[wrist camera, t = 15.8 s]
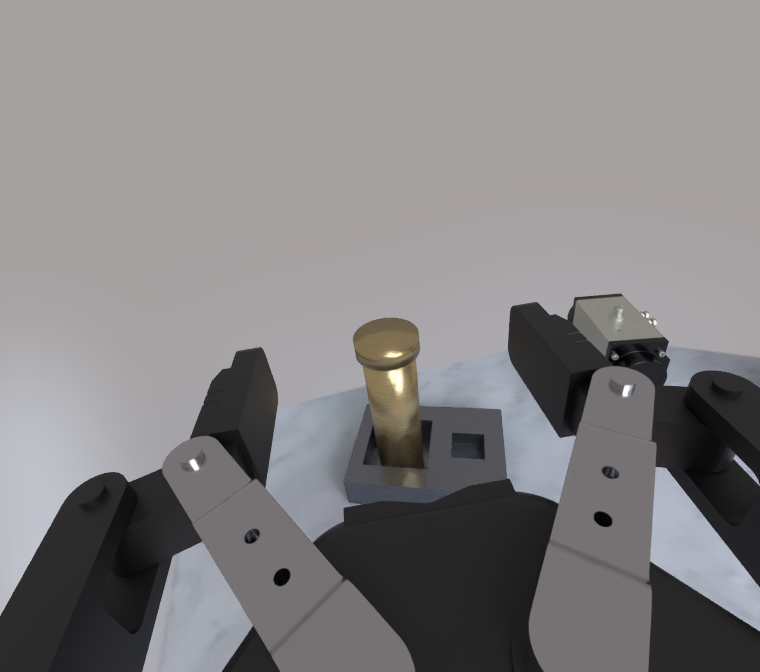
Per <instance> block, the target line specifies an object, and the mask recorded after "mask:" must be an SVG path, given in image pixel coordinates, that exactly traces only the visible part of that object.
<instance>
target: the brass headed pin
mask: <svg viewBox="0 0 760 672" xmlns="http://www.w3.org/2000/svg"><path fill="white" fill-rule="evenodd" d="M353 343H354V348H355V352H356V358H357V360H358V362H359V363H360V364H361V365H363V369H364V375H365V381H366V386H367V392H368V398H369V403H370V409H371V414H372V420H373V426H374V431H375V437H376V442H377V448H378V454H379V459H380V465H381V466H388V467H402V468H415V469H421V468H422V466H423V463H424V452H423V440H422V428H421V417H420V405H419V393H418V381H417V370H416V358H417V356H418V354H419V351H420V345H419V333H418V329H417V327H416V326H415V325H414V324H412V323H411V322H409V321H407V320H403V319H399V318H382V319H377V320H374V321H371V322H368V323H366V324H364V325H363V326H361V327H360V328H359V329H358V330H357V331H356V332H355V334H354V337H353Z"/></svg>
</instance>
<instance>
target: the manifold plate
mask: <svg viewBox="0 0 760 672" xmlns="http://www.w3.org/2000/svg"><path fill="white" fill-rule="evenodd" d="M420 417H421V428H422V440H423V452H424V463H423V466H422V468H421V469H415V468H402V467H388V466H381V465H380V459H379V454H378V448H377V442H376V437H375V431H374V426H373V420H372V414H371V409H370V404H367V406H366V410H365V413H364V416H363V420H362V423H361V426H360V430H359V433H358V436H357V440H356V443H355V446H354V449H353V453H352V456H351V459H350V463H349V466H348V469H347V473H346V476H345V479H344V485H345V489H346V492H347V496H348V500H349V503H360V504H369V503H374V502H380V501H398V502H415V503H431V502H433V501H436V500H438V499H440V498H442V497H445V496H447V495H449V494H451V493H454V492H456V491H458V490H460V489H463V488H465V487H467V486H470V485H476V484H482V483H487V482H493V481H499V480H504V479H507V473H506V462H505V450H504V439H503V428H502V416H501V409H477V408H452V407H427V406H420Z"/></svg>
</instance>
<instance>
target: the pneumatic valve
mask: <svg viewBox="0 0 760 672" xmlns="http://www.w3.org/2000/svg"><path fill="white" fill-rule="evenodd" d="M568 321H570V322H571V323H572V324H573V325H574V326H575V327H576V328H577V329H578V330H579V331H580V333H582V334H583V335H584V336H585V337H586V338H587V340H588V341H590V342H591V343H592V344H593V345H594V346H595V347H596V348H597V349H598V350H599V351H600V352H601V353H602V354H603V355H604V356H605V357H606V358H607V359H608V360H609V361H610V362H611V363H612V364H613V365H614V366H619V367H626V368H630V369H633V370H636V371H638V372H640V373H642V374H643V375H645V376H646V377H648V378H649V379H650V380H651V381H652V383H653V384H654V385H662V386H663V385H664V383H665V381H666V379H667V371H666V370H667V368H668V365H669V362H670V359H669V358H668V357H667V356H666V353H665V352H666V349H667V346H668V342H669V341H668V340H667V339H666V338H665V337H664V336H663V335H662V334H661V333H660V332H659V331H658V330H657V329H656V328H655V326H656V325H657V321H656V319H654V318H651V319H649V313H648V312H647V311H644V312H639V311H638V310H637V309H636V308H635V307H634V306H633V305H632V304H631V303H630V302H629V301H628V300H627V299H626V298H625V297H624V296H623V295H622V294H610V295H599V296H587V297H575V299H574V304H573V306H572V308H571V309H570V311H569V313H568Z"/></svg>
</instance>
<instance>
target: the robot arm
mask: <svg viewBox="0 0 760 672" xmlns="http://www.w3.org/2000/svg"><path fill="white" fill-rule="evenodd" d="M508 351H509V356H510V360H511V362H512V364H513V366H514V368H515V369H516V371H517V372H518V374H519V375H520V377H521V378H522V380H523V381H524V383H525V385H526V386H527V388H528V389H529V391H530V392H531V394H532V395H533V397H534V399H535V400H536V402H537V403H538V405H539V406H540V408H541V409H542V411H543V412H544V414H545V416H546V417H547V419H548V420H549V422H550V423H551V425H552V426H553V428H554V430H555V431H556V433H557V434H558V436H559V437H560V438H562V437H567V436H573V435H575V436H576V439H575V443H574V447H573V451H572V455H571V459H570V462H569V466H568V470H567V474H566V478H565V482H564V486H563V490H562V494H561V498H560V502H559V504H558V503H556V502H554V501H552V500H549V499H547V498H544V497H541V496H538V495H534V494H530V493H524V492H515V490H514V488H513V486H512V483H511V481H510V479H504V480H499V481H493V482H487V483H482V484H476V485H470V486H467V487H465V488H463V489H460V490H458V491H456V492H454V493H451V494H449V495H447V496H445V497H442V498H440V499H438V500H436V501H433V502H431V503H415V502H398V501H380V502H374V503H369V504H363V505H357V506H352V507H346V508H343V509H344V522H342V523H340V524H338V525H336V526H334V527H332V528H331V529H329V530H328V531H326V532H325V533H324V534H322V535H321V536H320V537H318V538H317V539H316V540H315V541H314V542H313V543H312V542H311V541H310V539H309V538H308V537H307V536H306V535H305V534H304V533H303V531H302V530H301V529H300V528H299V527H298V526H297V525H296V523H295V522H294V521H293V520H292V519H291V518H290V516H289V515H288V514H287V513H286V512H285V511H284V510H283V508H282V507H281V506H280V505H279V504H278V503H277V501H276V500H275V499H274V498H273V497H272V496H271V495H270V493H269V492H268V491H267V490H266V489H265V486H266V479H267V472H268V466H269V459H270V452H271V446H272V439H273V432H274V426H275V419H276V413H277V406H278V394H277V388H276V384H275V381H274V379H273V375H272V373H271V370H270V367H269V364H268V361H267V358H266V355H265V353H264V351H263V349H262V348H261V347H259V348H253V349H247V350H241V351H237V352H236V354H235V357H234V360H233V363H232V366H231V368H228V369H223V370H222V371H221V372H220V373H219V374H218V375H217V376H216V377H215V378H214V379H213V380H212V382H211V384H210V387H209V390H208V392H207V396H206V398H205V401H204V405H203V406H202V408H201V411H200V413H199V416H198V419H197V421H196V424H195V427H194V429H193V432H192V435H191V437H190V440H187V441H185V442H183V443H182V444H180V445H179V446H177V447H176V448H175V449H174V450H173V451H172V452H171V453H170V454H169V455H168V456H167V457H166V459H165V461H164V463H163V467H162V469H159V470H157V471H155V472H153V473H150V474H148V475H146V476H143V477H141V478H138V479H136V480H134V481H131V482H128V481H127V480H126V478H125V477H124V476H123V475H122V474H120V473H116V472H110V473H104V474H101V475H98V476H95V477H93V478H91V479H89V480H88V481H86V482H84V483H83V484H81V485H80V486H79V487H77V488H76V489H75V490H74V491H73V492H72V493H71V494H70V495H69V496H68V497H67V498H66V500H65V501H64V503H63V504H62V506H61V508H60V510H59V512H58V513H57V515H56V517H55V519H54V520H53V522H52V524H51V526H50V528H49V529H48V531H47V533H46V535H45V537H44V539H43V540H42V542H41V544H40V546H39V547H38V549H37V551H36V553H35V555H34V556H33V558H32V560H31V562H30V564H29V565H28V567H27V569H26V571H25V573H24V574H23V577H22V578H21V580H20V582H19V583H18V585H17V587H16V589H15V591H14V592H13V594H12V596H11V598H10V600H9V601H8V603H7V605H6V607H5V609H4V610H3V612H2V614H1V616H0V672H142V670H143V666H144V662H145V658H146V654H147V651H148V647H149V643H150V640H151V636H152V632H153V628H154V624H155V620H156V617H157V613H158V609H159V605H160V601H161V598H162V594H163V590H164V587H165V583H166V579H167V575H168V571H169V567H170V563H171V560H172V556H173V555H175V554H177V553H179V552H181V551H184V550H186V549H188V548H190V547H192V546H194V545H196V544H198V543H200V542H202V541H203V543H204V544H205V546H206V548H207V549H208V551H209V553H210V554H211V556H212V558H213V559H214V561H215V563H216V564H217V566H218V568H219V569H220V571H221V573H222V574H223V576H224V578H225V579H226V581H227V583H228V584H229V586H230V588H231V589H232V591H233V593H234V594H235V596H236V598H237V599H238V601H239V602H240V604H241V606H242V607H243V609H244V611H245V612H246V614H247V616H248V617H249V619H250V621H251V622H252V624H253V627H252V628H251V630H250V631H249V633H248V634H247V636H246V637H245V639H244V640H243V642H242V643H241V644H240V646H239V647H238V649H237V650H236V652H235V653H234V655H233V656H232V658H231V659H230V660H229V662H228V663H227V665H226V666H225V668H224V669H223V671H222V672H760V631H758V630H757V629H755V628H753V627H752V626H750V625H749V624H747V623H746V622H744V621H742V620H741V619H739V618H738V617H736V616H735V615H733V614H731V613H730V612H728V611H727V610H725V609H724V608H722V607H721V606H719V605H717V604H716V603H714V602H713V601H711V600H710V599H708V598H706V597H705V596H703V595H702V594H700V593H699V592H697V591H696V590H694V589H692V588H691V587H689V586H688V585H686V584H685V583H683V582H681V581H680V580H678V579H677V578H675V577H674V576H672V575H670V574H669V573H667V572H666V571H664V570H663V569H661V568H660V567H658V566H656V565H655V564H653V563H652V562H650V550H651V533H652V516H653V499H654V483H655V467H663V468H667V470H668V471H669V472H670V473H671V475H672V476H673V477H674V478H675V480H676V481H677V482H678V484H679V485H680V486H681V487H682V489H683V490H684V491H685V492H686V494H687V495H688V496H689V498H690V499H691V500H692V501H693V503H694V504H695V505H696V506H697V508H698V509H699V510H700V512H701V513H702V514H703V515H704V517H705V518H706V519H707V521H708V522H709V523H710V524H711V526H712V527H713V528H714V529H715V531H716V532H717V533H718V535H719V536H720V537H721V538H722V540H723V541H724V542H725V543H726V545H727V546H728V547H729V549H730V550H731V551H732V552H733V554H734V555H735V556H736V557H737V559H738V560H739V561H740V563H741V564H742V565H743V566H744V568H745V569H746V570H747V572H748V573H749V574H750V575H751V577H752V578H753V579H754V580H755V582H756V583H757V584H758V586H759V587H760V486H759V485H758V484H757V483H756V482H755V481H754V480H753V479H752V478H751V477H750V476H749V475H748V474H747V473H746V472H745V471H744V470H743V469H742V467H741V466H740V465H739V464H738V463H737V462H736V461H735V460H734V459H733V458H734V456H735V454H736V455H737V456H738V457H739V458H740V459H741V460H742V461H743V462H744V463H745V464H746V465H747V466H748V467H749V468H750V469H751V470H752V471H753V472H754V474H755V475H756V477H757V478H758V481H759V484H760V388H759V387H757V386H756V385H755V384H753V383H752V382H750V381H748V380H747V379H745V378H742V377H740V376H737V375H735V374H731V373H727V372H722V371H702V372H699V373H696V374H695V375H693V376H692V378H691V380H690V383H689V385H688V387H680V386H662V385H654V384H653V383H652V381H651V380H650V379H649V378H648V377H646V376H645V375H643V374H642V373H640V372H638V371H636V370H633V369H630V368H626V367H619V366H614V365H613V364H612V363H611V362H610V361H609V360H608V359H607V358H606V357H605V356H604V355H603V354H602V353H601V352H600V351H599V350H598V349H597V348H596V347H595V346H594V345H593V344H592V343H591V342H590V341H588V340H587V338H586V337H585V336H584V335H583V334H582V333H580V331H579V330H578V329H577V328H576V327H575V326H574V325H573V324H572V323H571V322H570V321H568V320H566V319H564V318H562V317H560V316H558V315H556V314H555V315H549V314H548V313H547V312H546V311H545V310H544V309H543V308H542V307H541V305H540V304H539V303H537V302H533V303H527V304H521V305H515V306H512V308H511V311H510V323H509V339H508Z"/></svg>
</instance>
